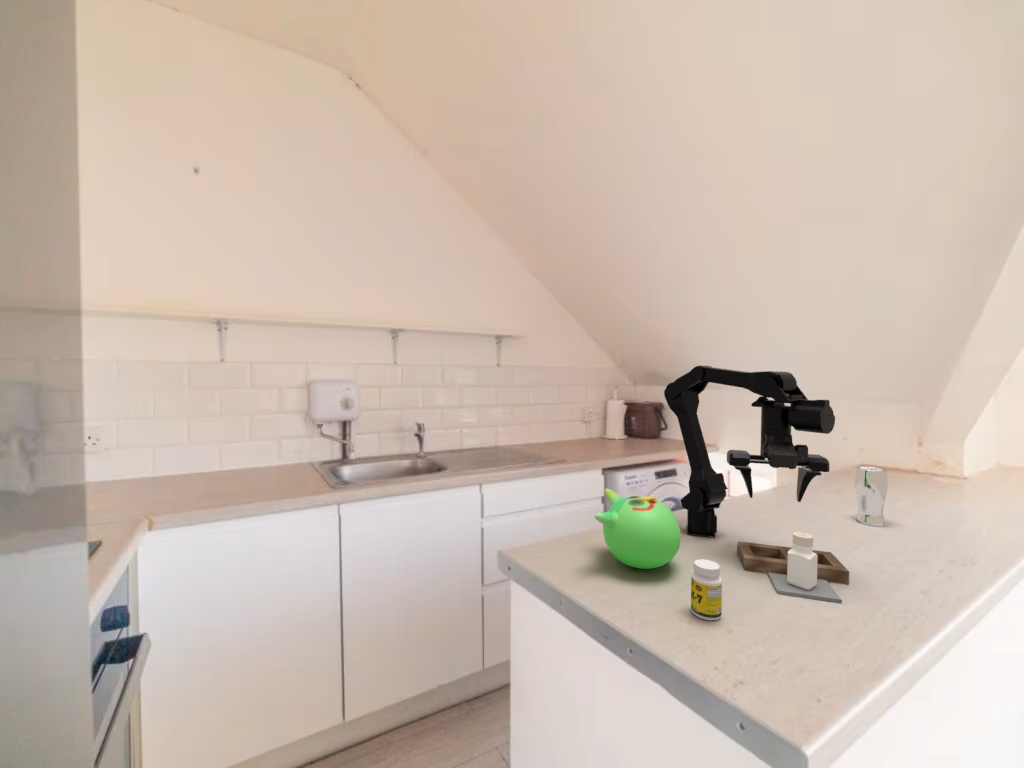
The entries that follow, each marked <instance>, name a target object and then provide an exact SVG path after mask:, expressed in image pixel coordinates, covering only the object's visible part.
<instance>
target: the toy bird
mask: <svg viewBox="0 0 1024 768" xmlns="http://www.w3.org/2000/svg"><path fill="white" fill-rule="evenodd" d="M603 490H604V494H605V497H606V498H607V500H608V502H609V504H610V508H609V509H608V510H607V511H600V512H597V513H595V514H594V519H595V520H596V521H598V522H599V523H600V524H602V525H603V527H602V528H603V529H602V531H603V537H604V542H605V544H606V546H607V548H608V549H609V551H610V553H611V554H612V555H613V556H614V557H615V558H616V559H617V560H618V561H620V562H621V563H623V564H624V565H626V566H629V567H632V568H634V569H635V568H636V569H643V570H647V569H648V570H649V569H650V570H651V569H656V568H659V567H662V566H664V565H666V564H668V563H670V562H671V561H672V560H673V559H674V558H675V556H676V555H677V553H678V552H679V548H680V546H681V542H682V540H681V538H682V537H681V535H682V534H681V529H680V524H679V522H678V519H677V517H676V516H675V514H674V512H673V511H672V510H671V509H670V508H669V507H668V506H667V505H666V504H665V503H663V502H661V501H660V500H657V499H658V497H657V496H649V495H648V496H639V495H638V496H637V495H632V496H629V497H626V498H625V497H622V495H620V494H618V493H616V492H615V491H614V490H612V489H610V488H604V489H603Z"/></svg>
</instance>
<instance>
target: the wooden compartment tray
mask: <svg viewBox="0 0 1024 768" xmlns="http://www.w3.org/2000/svg"><path fill="white" fill-rule="evenodd" d="M736 543H737V549H736V553H737V555H738V557H739V561H740V562H741V565H742V567H743V570H744V571H747V572H748V571H749V572H756V573H761V574H762V573H763V574H768V572H769V573H777V574H784V575H787V562H788V551H789V550H790V549H792V548H793V547H791V546H790V547H789V546H788V547H787V546H780V545H773V544H763V543H756V542H755V543H754V542H746V541H739V540H738V541H737V542H736ZM812 552H814V553H815V554H817V556H818V558H817V579H821V580H827V582H828V583H837V584H843V585H849V584H850V571H849V570H848V568H847V567H846V566H845V565H844V564H843V563H842V562H841V561H840V560H839V559H838V558H837V557H836V556H835V555H834V554H833V553H832V552H831V551H823V550H814V549H812Z"/></svg>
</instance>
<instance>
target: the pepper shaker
mask: <svg viewBox="0 0 1024 768" xmlns="http://www.w3.org/2000/svg"><path fill="white" fill-rule="evenodd" d="M792 544H793V546H792V547H791V548H792V549H790V550H789V551H788V562H787V582H788V583H789V584H792V585H795V586H797V587H800V588H803V589H806V590H810V589H812V588H813V587H815V586H816V584H817V558H818V556H817V554H815V553H814V552H812V550H813V548H814V545H813V544H814V537H813V535H812V534H810V533H806V532H801V531H797V532H796V531H795V532H792Z"/></svg>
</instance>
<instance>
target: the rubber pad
mask: <svg viewBox="0 0 1024 768" xmlns="http://www.w3.org/2000/svg"><path fill="white" fill-rule="evenodd" d="M767 577H768V578H769V581H770V582H771V584H772V586H773V588H774V590H775V592H776V593H777V595H778V594H779V595H783V596H789V597H790V596H791V597H797V598H804V599H811V600H819V601H825V602H830V603H831V602H832V603H839V604H842V603H843V599H842V598H841V596H839V594H838V593H837V592H836V591H835V589H834V588H833V587H832V586H831V584H830V582H828V581H827V580H821V579H817V584H816V586H815V587H813V588H812V589H810V590H806V589H803V588H800V587H797V586H795V585H792V584H789V583H788V582H787V575H784V574H777V573H769V572H768V573H767Z"/></svg>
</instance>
